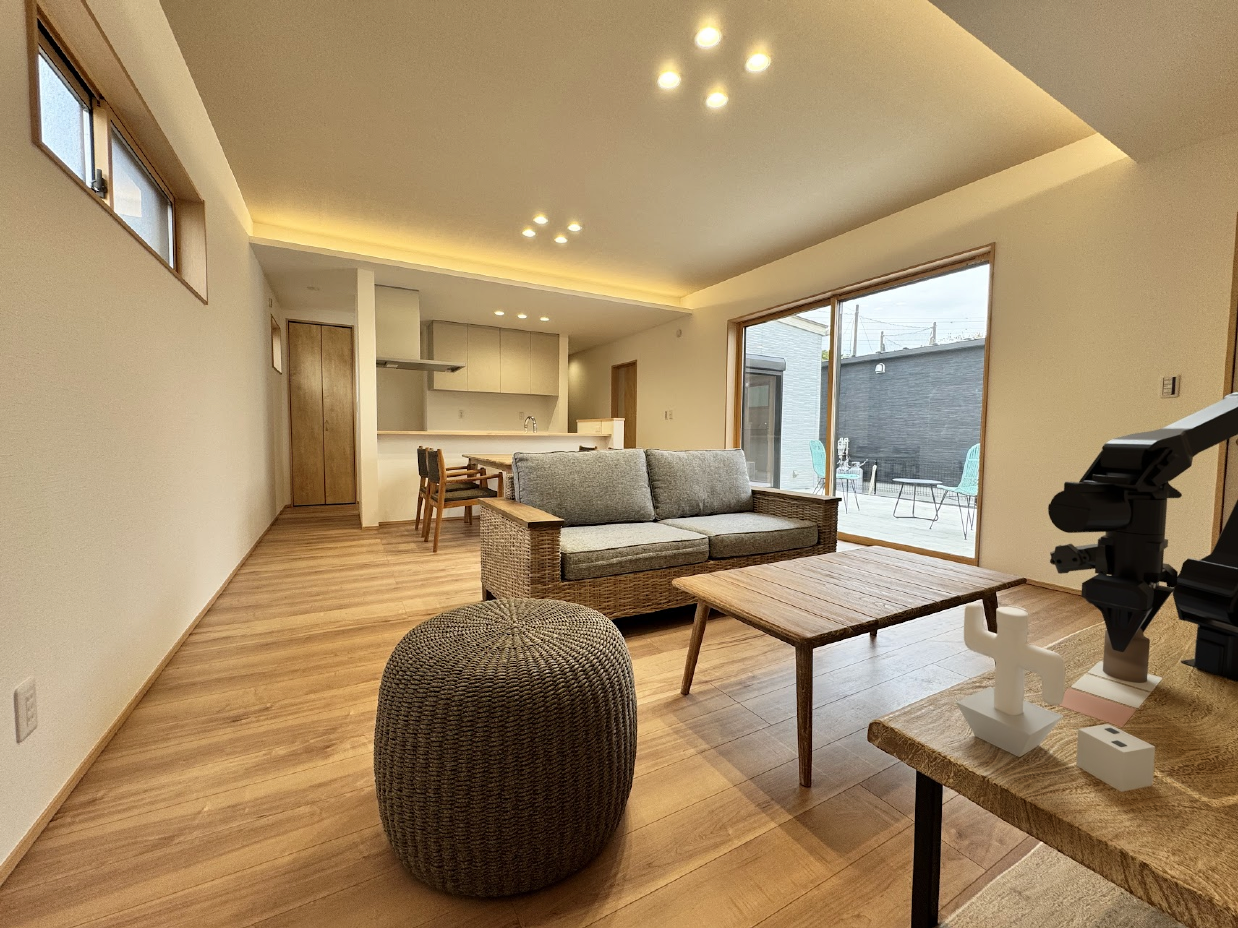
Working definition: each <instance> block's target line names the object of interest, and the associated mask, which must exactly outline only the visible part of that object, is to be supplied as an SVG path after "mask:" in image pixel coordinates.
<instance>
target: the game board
mask: <svg viewBox="0 0 1238 928" xmlns="http://www.w3.org/2000/svg"><path fill="white" fill-rule="evenodd" d="M1163 679H1164V678H1163V677H1161V676H1157V675H1155V674H1154V675H1153V674H1150V673H1148V675H1147V682H1145V683H1134V682H1128V681H1124V680H1120V679H1117V678H1114V677H1111V676H1109V675H1107V674H1106V673H1104V672H1103V660H1099V661H1098V662H1097V663H1096V664H1095V665H1094V666H1092V668H1090V669H1089V670H1088V671H1087V672H1086V673H1085V674H1083V675H1082V676H1081V677H1080V678H1079V679H1078V680H1076V681H1075V682H1074V683H1073V684H1072V685H1071V686H1070V687H1069V688H1068V689H1066V690H1064V699H1063V702H1062V703H1061V704H1060V705H1058V706H1060V707H1062V708H1065V709H1068V710H1070V711H1073V712H1077V713H1079V714H1082V715H1085V716H1088V717H1091V718H1094V719H1097V720H1099V721H1102V722H1106V723H1107V724H1110V725H1113V726H1116V727H1120V728H1124V726H1125V725H1126V724H1127V723H1128V721H1129V720H1130V719H1131V717H1132V716H1133V715H1134V714H1135V712H1136V711H1137V709H1139V708H1140V707H1141V705H1142V704H1143V703H1144V702H1145V701H1146V699H1147V698H1148V697H1149V696H1150V694H1151V693H1152V692H1153V691H1154V690H1155V689H1156V687H1157V686H1158V684H1160V683H1161V681H1162V680H1163ZM1085 692H1086V693H1085ZM1122 704H1123V705H1122Z"/></svg>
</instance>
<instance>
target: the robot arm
mask: <svg viewBox="0 0 1238 928" xmlns="http://www.w3.org/2000/svg"><path fill="white" fill-rule="evenodd" d="M1235 436H1238V391H1235V392H1232V393H1230V394H1227V395H1225V396H1224V397H1223V398H1222V399H1221V400H1219V401H1217V402H1215V403H1213V404H1211V405H1208V406H1207V407H1204V408H1202V409H1200V410H1197V411H1196V412H1193V413H1192V414H1189V415H1187V416H1186V417H1183V418H1181V419H1179V420H1177V421H1175V422H1173V423H1170V424H1168V425H1166V426H1164V427H1162V428H1159V429H1155V430H1151V431H1144V432H1137V433H1135V432H1134V433H1131V434H1126V435H1122V436H1119V437H1116V438H1112V439H1110V440H1108V441H1107V442H1105V443H1104V444H1103V446H1102V447H1101V451H1100V452H1099V454H1097V456H1096V458H1095V459H1094V460H1093V462H1092V463H1091V464H1090V465H1089V467H1088V468H1087V470H1086V471H1085V472H1084V473H1083V476H1082V477H1081V478H1080V479H1079V481H1065V482H1064V485H1063V490H1061V491H1059V492H1057V493H1056V494H1055V495H1054V496H1053V497H1052V499H1051V501H1050V503H1049V504H1048V507H1047V509H1048V511H1047V512H1048V515H1049V520H1050V521H1051V522H1052V524H1053V525H1054V526H1055V527H1056V528H1057V529H1058V530H1059V531H1062V532H1064V533H1068V534H1076V533H1077V534H1079V533H1080V534H1081V533H1105V535H1102V536H1100V537H1098V539H1097V543H1093V544H1085V545H1078V546H1075V545H1074V544H1073V543H1068V544H1063V545H1062V544H1058V545H1056V546H1055V548H1054V550H1053V551H1050V552H1049V554H1050V559H1049V564H1051V565H1053V566H1055V568H1056V571H1057V573H1058V574H1060V575H1061V574H1068V573H1070V572H1077V571H1086V570H1094V569H1095V570H1094V574H1096V575H1094V576H1092V577H1091V578H1089V579H1087V580H1085V581H1083V582H1081V592H1080V593H1081V597H1082V598H1083V599H1085V601H1086V602H1087V603H1088V604H1092V605H1093V606H1094V607H1095V608H1096V609H1097V610H1098V611H1100V612H1101V615H1102V618H1103V622H1104V625H1105V627H1106V630H1107V632H1108V635H1109V639H1110V642H1111V646H1112V649H1113V650H1115V651H1119V652H1124V651H1125V650H1126V648H1127V647H1128V645H1129V644H1130V642H1131V641H1132V639H1133V637H1134V636H1135V634H1136V633H1137V631H1138V630H1139V628H1141V629H1142V631H1143V634H1144V633H1145V631H1146V630H1147V628H1148V627H1149V625H1150V624H1151V622H1152V621H1153V620H1154V619H1155V617H1156V615H1157V614H1158V612H1159V611H1160V610H1161V609H1162V607H1163V605H1164V604H1165V603H1166V602H1167V600H1168V598H1169V597H1170V596H1171V595H1172V597H1173V601H1174V605H1175V608H1176V612H1177V616H1178V619H1179V620H1180V621H1183V622H1188V623H1192V624H1194V625H1196V626H1197V629H1196V639H1195V646H1194V647H1195V648H1194V658H1189V659H1183V660H1180V663H1181V664H1184V665H1187V666H1190V667H1192V668H1196V669H1198V670H1201V671H1203V672H1205V673H1206V672H1207V673H1210V674H1213V675H1215V676H1218V677H1221V678H1224V679H1227V680H1230V681H1233V682H1235V683H1238V498H1237V500H1236V501H1235V504H1234V505H1233V507H1232V510H1231V512H1230V514H1229V516H1228V518H1227V520H1226V522H1225V524H1224V527H1223V529H1222V530H1221V533H1220V535H1219V537H1218V538H1217V541H1216V544H1215V545H1214V547H1213V549H1212V551H1211V553H1210V554H1208V555H1207V556H1204V557H1203V558H1201V559H1195V558H1190V557H1189V558H1187V559H1186V560H1185V561H1183V563H1182V565H1181V568H1180V571H1179V572H1178V570H1176V569H1175V568H1174V567H1173V566H1172V565H1171V564H1169V563H1164V555H1165V554H1164V553H1165V551H1164V550H1165V549H1167V548H1168V547H1169V539H1167V538H1166V539H1165V537H1166V523H1167V510H1168V509H1167V508H1168V499H1180V498H1181V497H1182V496H1183V495H1182V494H1183V493H1182V492H1180V491H1179V490H1178V489H1176V487H1173V486H1172V485H1171V484H1170V483H1169V482H1171V481H1173V480H1174V479H1176V478H1177V477H1178V476H1180V475H1181V474H1183V473H1184V472H1186V471H1187V470H1188V469H1190V467H1192V465H1193V459H1194V457H1195V456H1197V455H1198V454H1200V453H1202V452H1204V451H1206V450H1208V449H1210V448H1212V447H1214V446H1217V445H1219V444H1221V443H1223V442H1225V441H1227V440H1229V439H1232V438H1233V437H1235ZM1160 583H1166V586H1165V585H1160Z"/></svg>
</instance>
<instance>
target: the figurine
mask: <svg viewBox="0 0 1238 928" xmlns="http://www.w3.org/2000/svg"><path fill="white" fill-rule="evenodd" d="M995 611H996V614H995V615H996V616H995V617H996V620H995V621H996V625H997V629H996V630H997V633H995V632H992V631H988V630H986V628H985V624H984V616H985V615H984V614H985V613H984V607H983V605H981V604H980V603H977V602H970V603H967V605H966V606H965V607H964V616H963V620H964V621H963V641H964V645H965V646H966V648H968V649H969V650H970V651H972V652H973V653H977V654H979V655H982V656H986V657H988V658H991V659H993V660H994V662H995V669H994V670H995V673H994V687H992V686H987V687H986V688H983V689H981V690H979V691H977V692H974V693H973V694H970V695H968V696H966V697H964V698H961V699H959V700H957V701H956V702H955V704H956V705H957V706H958V708H959V710H960V712H961V715H962V716H963V718H964V719H965V720H966V721H965V722H967V725H968V726H969V728H970V730H971V731H972V734H973V735H974V737H977V738H979V739H980V740H982V741H985V742H986V743H989V744H991V745H993V746H995V747H997V748H999V749H1002V750H1004V751H1006V752H1007V753H1010V754H1012V755H1014V756H1016V757H1018V758H1021V757H1022V756H1023V755H1026V754H1027V753H1028V752H1030V751H1032V750H1034V749H1035V748H1037V747H1039V746H1040V745H1041V744H1042V742H1043V741H1044V740H1045V739H1046V738H1047V736H1048V735H1050V733H1051V732H1052V730H1054V728H1055V727H1056V726H1057V724H1058V723H1059V722H1060V721H1061V720H1062V718H1063V717H1064V715H1062V714H1060V713H1058V712H1054V711H1053V710H1050V709H1047V708H1045V707H1042V706H1039V705H1037V704H1035V703H1033V702H1029V701H1027V700H1025V685H1026V684H1025V683H1026V671H1028V672H1031V673H1034V674H1036V675H1038V676H1039V677H1040V681H1041V698H1042V701H1043V702H1044V703H1045V704H1047V705H1050V706H1059V705H1060V704H1061V703H1062V702H1063V699H1064V692H1065V681H1066V664H1065V663H1066V662H1065V660H1064V658H1063V656H1061V654H1059V653H1057V652H1056V651H1053V650H1050V649H1046V648H1044V647H1040V646H1037V645H1033V644H1030V643H1029V641H1028V635H1030V633H1031V631H1030V627H1029V622H1030V621H1029V620H1030V619H1029V617H1030V616H1029V612H1028V610H1027V609H1025V608H1024V607H1020V606H1017V605H1011V604H1008V605H1007V606H1000V607H997V608H996V610H995Z"/></svg>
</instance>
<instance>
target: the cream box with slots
mask: <svg viewBox="0 0 1238 928" xmlns="http://www.w3.org/2000/svg"><path fill="white" fill-rule="evenodd" d="M1076 742H1077V743H1076V761H1075V762H1076V763H1075V766H1077V767H1078V768H1080V769H1081V770H1084V771H1085V772H1087V773H1088V774H1090V775H1091V776H1094V777H1095V778H1097V779H1099V780H1100V781H1102V782H1103V783H1105V784H1107V785H1109V786H1111V787H1112V788H1114V789H1115V790H1117V791H1119V792H1126V791H1132V790H1136V789H1137V790H1138V789H1141V788H1142V789H1143V788H1147V787H1151V786H1153V783H1154V769H1155V757H1156V756H1155V755H1156V754H1155V752H1156V746H1154V745H1153V744H1150V743H1149V742H1147V741H1144V740H1143V739H1140V738H1139V737H1136V736H1134V735H1132V734H1131V733H1128V732H1126V731H1124V730H1122V729H1120V728H1117V726H1116V727H1115V725H1113V724H1110V723H1105V724H1099V725H1093V726H1087V727H1081V728H1077V741H1076Z"/></svg>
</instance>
